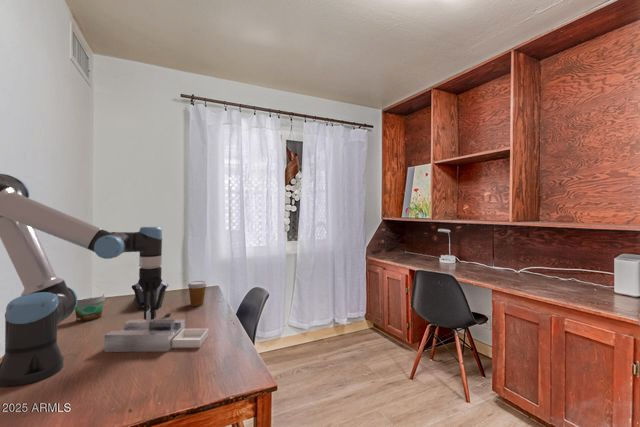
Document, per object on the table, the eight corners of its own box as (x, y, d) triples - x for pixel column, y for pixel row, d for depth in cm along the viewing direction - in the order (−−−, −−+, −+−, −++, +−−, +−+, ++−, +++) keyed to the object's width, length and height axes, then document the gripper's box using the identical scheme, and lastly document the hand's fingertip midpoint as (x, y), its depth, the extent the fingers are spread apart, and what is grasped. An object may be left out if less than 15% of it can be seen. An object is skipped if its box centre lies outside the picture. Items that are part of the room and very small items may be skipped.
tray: (199, 347, 113) (200, 339, 113) (172, 348, 113) (172, 340, 113) (208, 335, 124) (208, 328, 124) (183, 336, 124) (183, 328, 124)
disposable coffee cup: (187, 303, 168) (187, 281, 168) (205, 301, 172) (206, 280, 172) (187, 308, 159) (188, 285, 159) (206, 306, 163) (207, 283, 163)
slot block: (167, 351, 110) (168, 334, 110) (104, 351, 109) (104, 335, 109) (184, 333, 126) (184, 319, 126) (129, 334, 125) (129, 319, 125)
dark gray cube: (159, 333, 116) (160, 323, 116) (148, 333, 116) (149, 323, 116) (164, 329, 120) (164, 319, 120) (153, 329, 119) (154, 319, 119)
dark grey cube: (170, 333, 116) (170, 323, 116) (159, 333, 116) (160, 323, 116) (174, 329, 120) (175, 319, 120) (164, 329, 120) (164, 319, 120)
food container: (76, 325, 133) (77, 302, 133) (72, 321, 137) (72, 299, 137) (109, 317, 143) (109, 296, 143) (104, 314, 147) (104, 294, 147)
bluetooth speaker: (144, 297, 176) (144, 280, 176) (161, 296, 179) (162, 279, 179) (132, 310, 154) (133, 290, 154) (153, 308, 157) (153, 289, 157)
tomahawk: (144, 335, 127) (144, 332, 126) (131, 331, 128) (131, 329, 128) (179, 317, 147) (179, 315, 147) (168, 315, 148) (168, 312, 148)
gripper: (171, 265, 122) (171, 323, 122) (138, 264, 121) (137, 324, 121) (163, 268, 114) (162, 331, 114) (127, 268, 113) (126, 331, 113)
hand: (149, 327), depth 118 cm, fingers closed
